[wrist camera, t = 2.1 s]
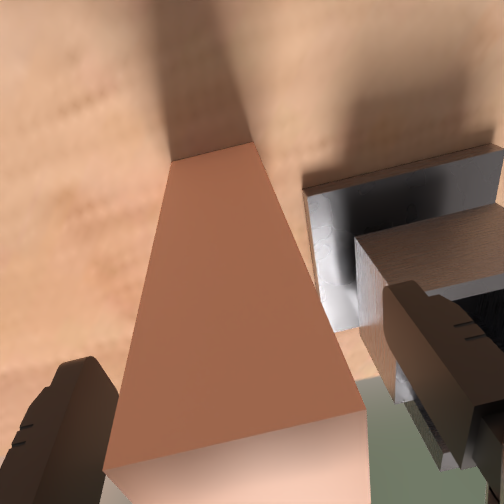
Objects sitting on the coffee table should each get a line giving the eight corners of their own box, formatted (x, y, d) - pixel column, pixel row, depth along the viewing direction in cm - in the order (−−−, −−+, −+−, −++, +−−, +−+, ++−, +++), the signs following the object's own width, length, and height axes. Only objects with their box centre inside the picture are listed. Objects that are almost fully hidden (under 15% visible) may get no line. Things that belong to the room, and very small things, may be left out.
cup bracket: (302, 189, 18) (383, 326, 10) (491, 143, 18) (733, 244, 10) (321, 323, 24) (384, 484, 16) (466, 289, 24) (609, 433, 15)
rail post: (171, 161, 17) (101, 471, 5) (253, 141, 17) (366, 409, 5) (195, 232, 19) (185, 560, 7) (268, 214, 19) (371, 518, 7)
